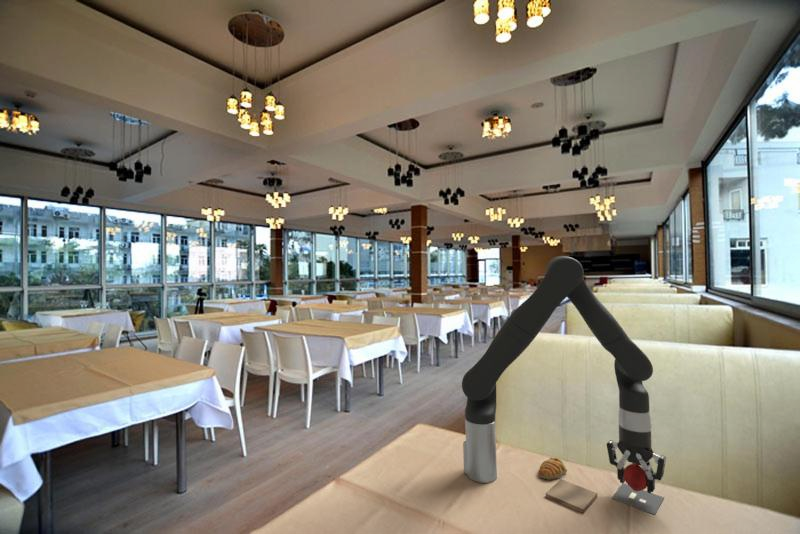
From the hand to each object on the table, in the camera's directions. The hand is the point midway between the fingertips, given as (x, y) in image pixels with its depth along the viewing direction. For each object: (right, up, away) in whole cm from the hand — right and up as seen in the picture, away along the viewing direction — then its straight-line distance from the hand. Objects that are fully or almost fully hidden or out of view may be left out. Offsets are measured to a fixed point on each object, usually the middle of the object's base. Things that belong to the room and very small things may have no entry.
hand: (635, 486), depth 100 cm
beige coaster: (-17, -3, +1) cm, 18 cm away
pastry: (-17, -4, +13) cm, 22 cm away
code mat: (0, -3, 0) cm, 3 cm away
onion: (0, -1, 0) cm, 1 cm away
